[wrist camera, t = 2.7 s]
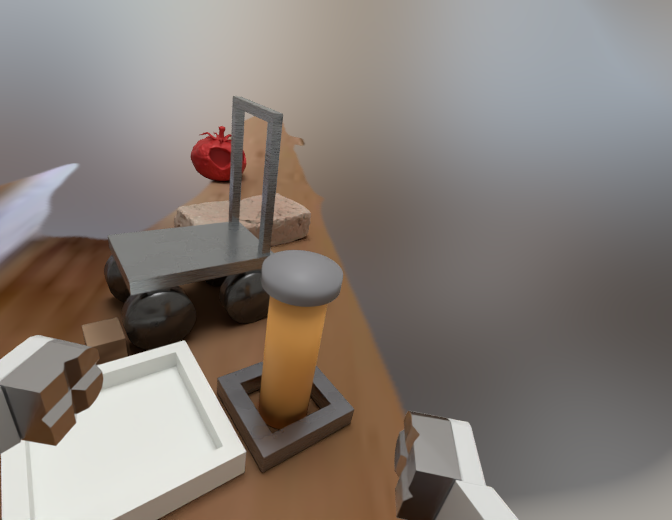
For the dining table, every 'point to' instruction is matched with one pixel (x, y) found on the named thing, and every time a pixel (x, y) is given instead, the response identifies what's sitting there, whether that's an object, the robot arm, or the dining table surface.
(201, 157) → the red hollow tomato
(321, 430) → the socket
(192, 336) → the dining table surface
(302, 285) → the pin
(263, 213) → the trolley
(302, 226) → the brick
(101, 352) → the block
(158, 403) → the tray
